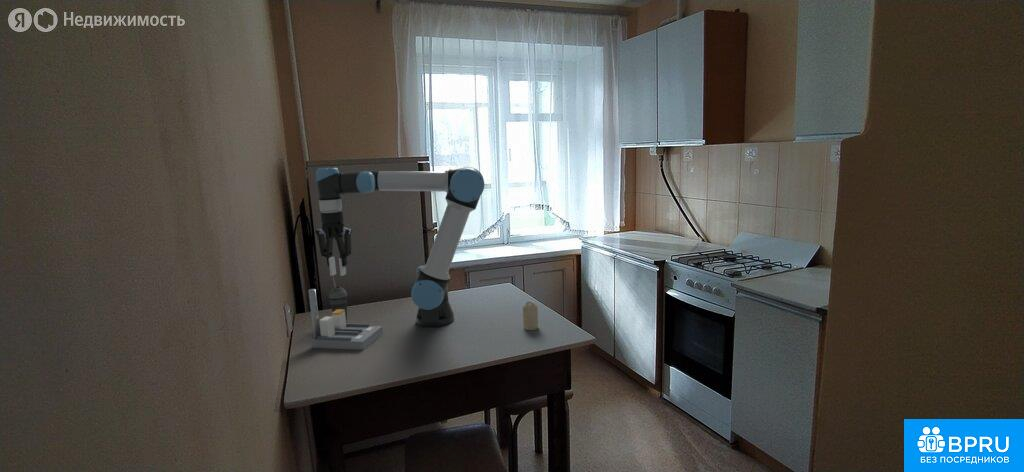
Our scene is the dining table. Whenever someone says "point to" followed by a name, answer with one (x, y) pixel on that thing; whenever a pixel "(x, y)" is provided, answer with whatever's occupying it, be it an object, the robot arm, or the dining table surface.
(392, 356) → the dining table surface
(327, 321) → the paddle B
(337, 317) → the grey orange block
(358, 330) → the panel
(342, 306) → the beverage cup
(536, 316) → the candle
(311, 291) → the post
